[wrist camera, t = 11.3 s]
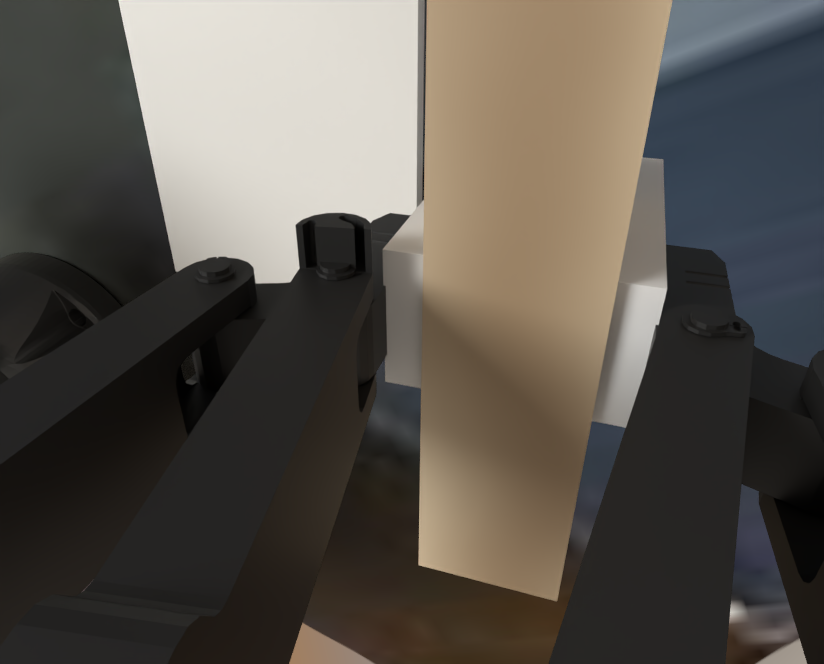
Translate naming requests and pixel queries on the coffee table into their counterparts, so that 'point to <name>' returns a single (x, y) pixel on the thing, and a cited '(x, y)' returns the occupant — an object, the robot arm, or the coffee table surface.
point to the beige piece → (522, 265)
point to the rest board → (277, 118)
